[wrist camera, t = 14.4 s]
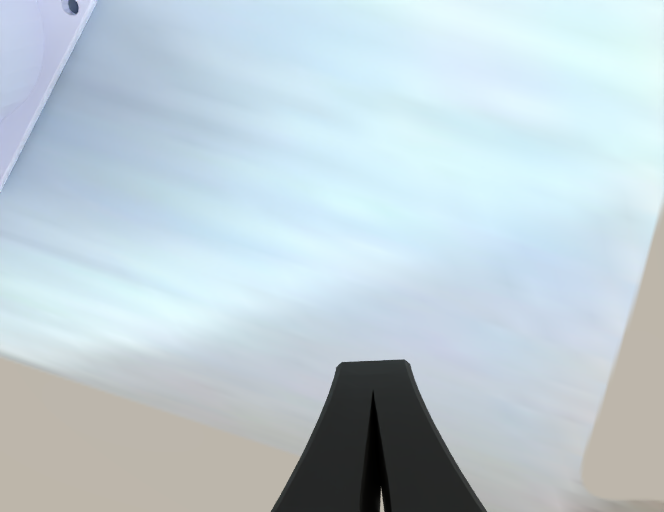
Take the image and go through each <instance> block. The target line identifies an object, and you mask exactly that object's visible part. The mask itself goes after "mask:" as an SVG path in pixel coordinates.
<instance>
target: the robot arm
mask: <svg viewBox="0 0 664 512" xmlns="http://www.w3.org/2000/svg"><path fill="white" fill-rule="evenodd" d="M68 1H69V0H0V192H1V190H2V188H3V186H4V184H5V182H6V180H7V178H8V176H9V174H10V172H11V171H12V169H13V167H14V165H15V163H16V161H17V159H18V157H19V155H20V153H21V151H22V149H23V147H24V145H25V143H26V141H27V139H28V137H29V135H30V133H31V131H32V129H33V127H34V125H35V123H36V121H37V119H38V117H39V116H40V114H41V112H42V110H43V108H44V106H45V104H46V102H47V100H48V98H49V96H50V94H51V92H52V90H53V88H54V86H55V84H56V82H57V80H58V78H59V76H60V74H61V72H62V70H63V68H64V66H65V64H66V62H67V61H68V59H69V57H70V55H71V53H72V51H73V49H74V47H75V45H76V43H77V41H78V39H79V37H80V35H81V33H82V31H83V29H84V27H85V25H86V23H87V21H88V19H89V17H90V15H91V13H92V11H93V9H94V7H95V6H96V4H97V0H75V1H76V2H77V3H78V6H79V10H78V13H77V14H75V13H73V12H72V11H71V10H70V8H69V5H68ZM381 489H382V497H383V504H384V511H385V512H487V511H486V509H485V508H484V506H483V505H482V503H481V502H480V500H479V499H478V497H477V496H476V494H475V493H474V491H473V489H472V488H471V486H470V485H469V483H468V481H467V480H466V478H465V477H464V475H463V474H462V472H461V470H460V469H459V467H458V465H457V464H456V462H455V460H454V458H453V457H452V455H451V453H450V452H449V450H448V448H447V446H446V444H445V442H444V441H443V439H442V437H441V435H440V433H439V431H438V430H437V428H436V426H435V424H434V422H433V420H432V418H431V416H430V414H429V412H428V410H427V408H426V405H425V403H424V401H423V399H422V397H421V394H420V392H419V390H418V387H417V385H416V382H415V379H414V376H413V373H412V370H411V366H410V364H409V363H408V362H407V361H406V360H382V361H359V362H342V363H340V364H339V365H338V366H337V367H336V372H335V376H334V379H333V382H332V385H331V388H330V391H329V394H328V397H327V399H326V402H325V404H324V407H323V409H322V412H321V414H320V417H319V419H318V421H317V424H316V426H315V428H314V430H313V432H312V434H311V437H310V439H309V441H308V443H307V445H306V448H305V450H304V452H303V454H302V456H301V458H300V460H299V461H298V463H297V465H296V467H295V469H294V471H293V473H292V475H291V477H290V478H289V480H288V482H287V484H286V486H285V488H284V490H283V491H282V493H281V495H280V497H279V499H278V500H277V502H276V504H275V505H274V507H273V509H272V510H271V512H380V497H381V496H380V495H381Z"/></svg>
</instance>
